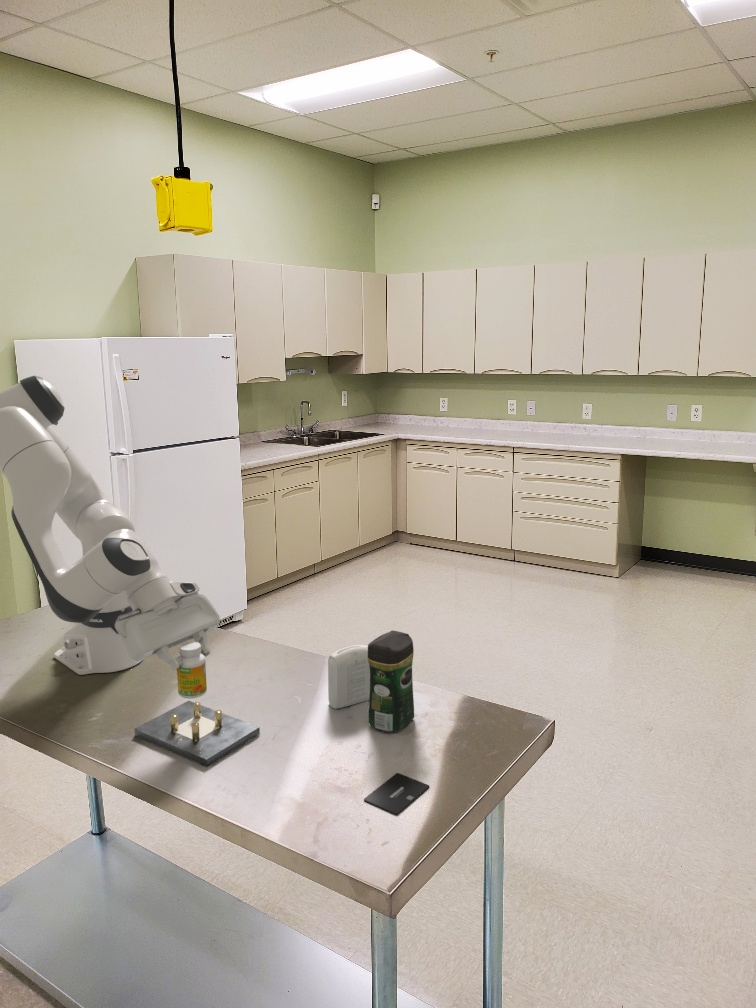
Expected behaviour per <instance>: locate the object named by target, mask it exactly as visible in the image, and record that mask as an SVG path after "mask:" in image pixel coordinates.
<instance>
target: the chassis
mask: <svg viewBox="0 0 756 1008" xmlns="http://www.w3.org/2000/svg"><path fill="white" fill-rule="evenodd" d="M133 729H134V737H137V738H140V739H141V740H143V741H146V742H149V743H151V744H153V745H155V746H158V747H160V748H161V749H162V748H163V749H165V750H167V751H169V752H171V753H173V754H176V755H178V756H181V757H183V758H185V759H188V760H190V761H192V762H194V763H197V764H199V765H202V766H204V767H206V768H208V767H210V766H211V765H213V764H214V763H216V762H217V761H219V760H221V759H222V758H224V757H225V756H228V754H230V753H232V752H233V751H236V750H237V749H238V748H240V747H242V746H244V745H245V744H247V743H248V742H249V741H251V740H253V739H254V738H256V737H258V736H259V735H260V733H261V731H260V730H261V729H260V726H258V725H255V724H252V723H249V722H247V721H244V720H242V719H239V718H236V717H234V716H230V715H228V714H225V713H223V712H222V710H221V709H217V710H215V709H212V708H209V707H207V706H204V705H202V704H201V702H200V701H195V702H193V701H192V700H187V701H185V702H183V703H181V704H178V705H177V706H176V707H174V708H171V709H169V710H168V711H165V712H164V713H162V714H160V715H158V716H155V717H154V718H153V719H150V720H148V721H146V722H145V723H142V724H141V725H138V726H137V727H135V728H133Z"/></svg>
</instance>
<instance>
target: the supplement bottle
mask: <svg viewBox="0 0 756 1008" xmlns="http://www.w3.org/2000/svg"><path fill="white" fill-rule="evenodd" d="M178 649H179V656H178V657H180V659H181V661H182V662H183V666H181V668H179V669H177V670H176V677H177V678H176V679H177V693H178V695H179V696H180V697H181V698H184V699H197V698H200V697H202V696H204V695H206V693H207V691H208V690H207V689H208V687H207V686H208V685H207V668H206V657H204V655H203V654H201V645H200V644H199V642H196V641H186V642H183V643H181V644H179V647H178Z"/></svg>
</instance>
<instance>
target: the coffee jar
mask: <svg viewBox="0 0 756 1008" xmlns="http://www.w3.org/2000/svg"><path fill="white" fill-rule="evenodd" d="M367 646H368V657H367V658H368V663H369V667H370V695H369V700H368V725H369V726H370V727H371V728H373V729H374V730H376V731H378V732H382V733H395V734H396V733H398V732H400V731H402V730H404V729H405V728H406V727H407V726H408V725H410V724H411V722H412V721H413V720H414V718H415V702H414V701H415V699H414V689H413V688H414V683H413V682H414V681H413V662H414V661H413V660H414V652H415V651H414V642H413V639H412V637H411V636H410V634H409V633H405V632H402V631H398V630H390V631H387V632H385V633H384V634H383V633H382V634H381V635H380V636H377V637H376V638H374V639H373V640H372V641H370V642H369V643H368V645H367Z"/></svg>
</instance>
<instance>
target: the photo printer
mask: <svg viewBox="0 0 756 1008" xmlns="http://www.w3.org/2000/svg"><path fill="white" fill-rule="evenodd" d="M367 657H368V645H366V644H354V645H350V646H344V648H340V649H338V650H337V651H334V652H333V653H332V654H330V655H329V656H328V660H327V668H328V669H327V672H328V673H327V682H328V683H327V686H328V687H327V688H328V696H327V697H328V704H329V706H330V707H331V708H333V709H343V708H345V707H350V706H353V705H356V704H359V703H363V702H366V701H369V695H370V667H369V663H368V658H367Z"/></svg>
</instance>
